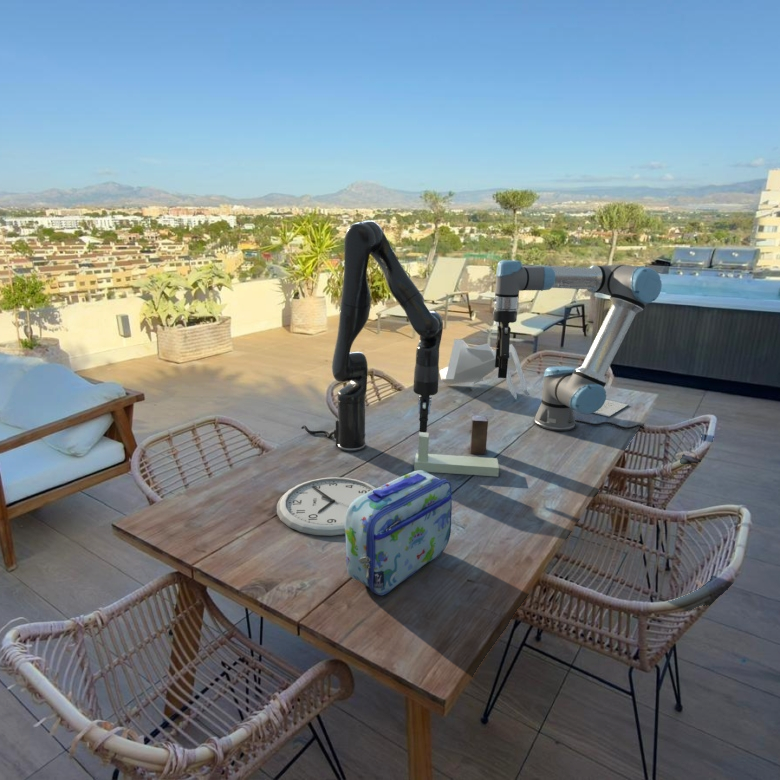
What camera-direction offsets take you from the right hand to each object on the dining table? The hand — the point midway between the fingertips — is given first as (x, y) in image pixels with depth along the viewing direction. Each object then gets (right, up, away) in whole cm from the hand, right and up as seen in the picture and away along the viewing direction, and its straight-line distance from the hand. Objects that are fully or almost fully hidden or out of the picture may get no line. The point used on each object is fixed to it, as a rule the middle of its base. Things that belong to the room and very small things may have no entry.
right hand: (500, 372), depth 176 cm
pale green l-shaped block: (-16, -31, -10) cm, 37 cm away
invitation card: (+54, -13, +50) cm, 75 cm away
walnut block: (-7, -27, +3) cm, 28 cm away
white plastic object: (+4, -7, +67) cm, 67 cm away
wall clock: (-53, -37, -33) cm, 73 cm away
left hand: (-27, -18, -11) cm, 34 cm away
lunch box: (-35, -46, -59) cm, 83 cm away
